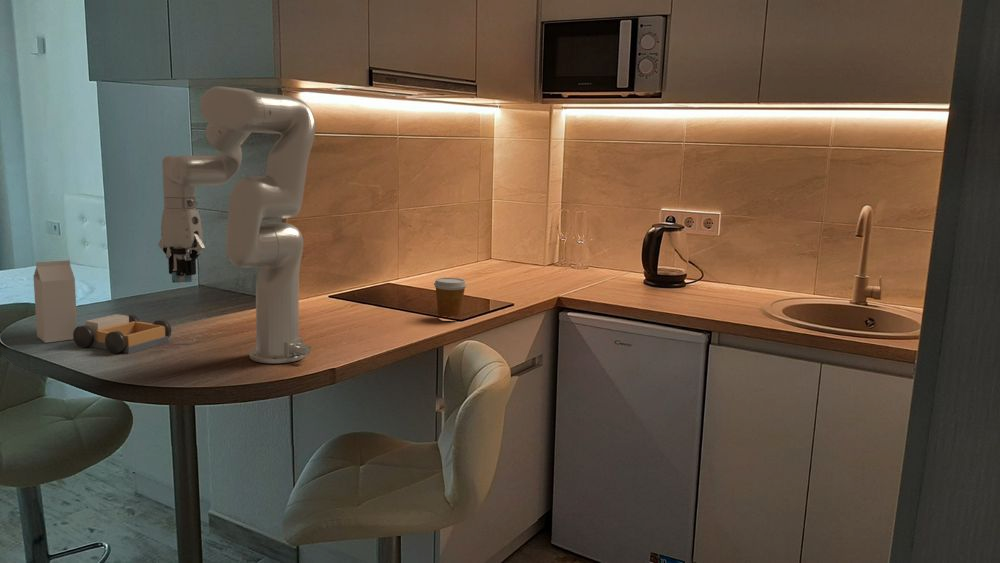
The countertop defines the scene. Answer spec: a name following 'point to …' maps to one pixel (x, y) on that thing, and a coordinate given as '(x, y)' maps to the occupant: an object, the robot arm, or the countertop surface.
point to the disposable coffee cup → (449, 296)
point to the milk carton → (55, 301)
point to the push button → (180, 266)
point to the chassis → (122, 333)
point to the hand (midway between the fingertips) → (182, 273)
